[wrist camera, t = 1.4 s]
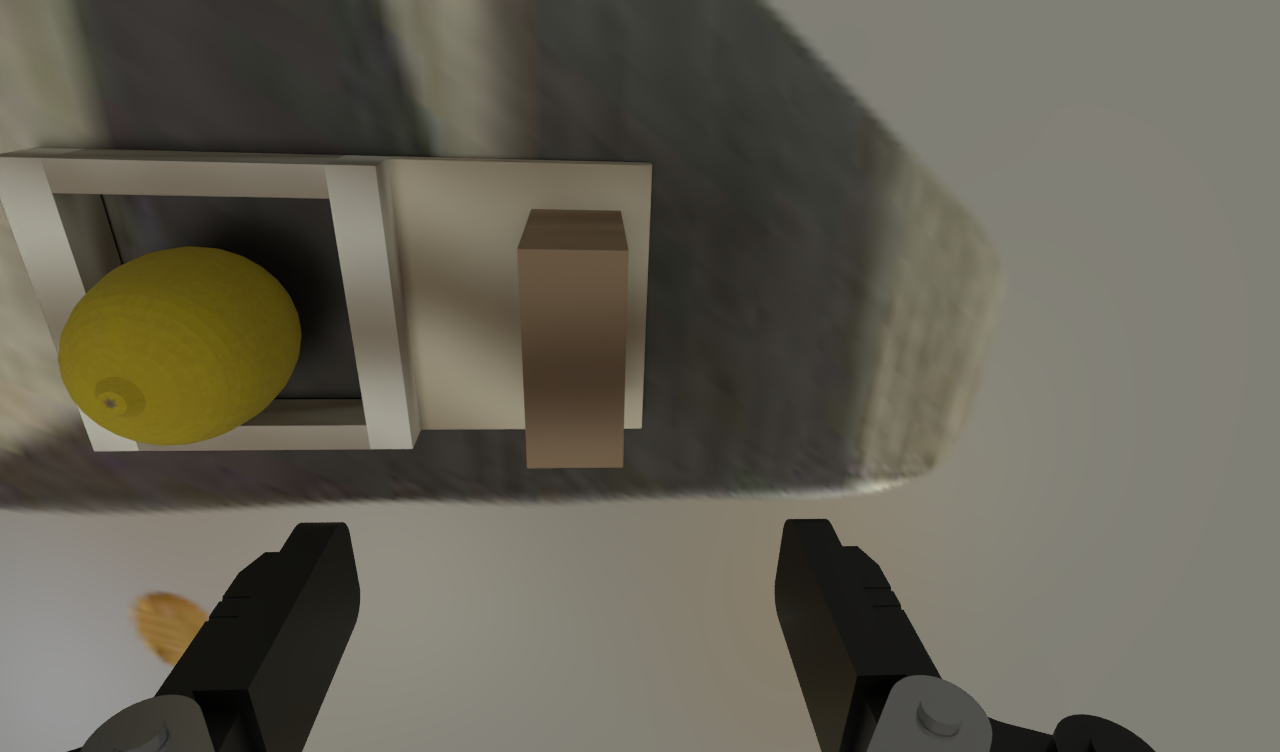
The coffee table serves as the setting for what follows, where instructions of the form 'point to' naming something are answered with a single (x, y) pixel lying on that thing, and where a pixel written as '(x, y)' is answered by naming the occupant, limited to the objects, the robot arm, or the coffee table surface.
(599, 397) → the white open frame tray
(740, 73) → the coffee table surface
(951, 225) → the coffee table surface
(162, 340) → the lemon
